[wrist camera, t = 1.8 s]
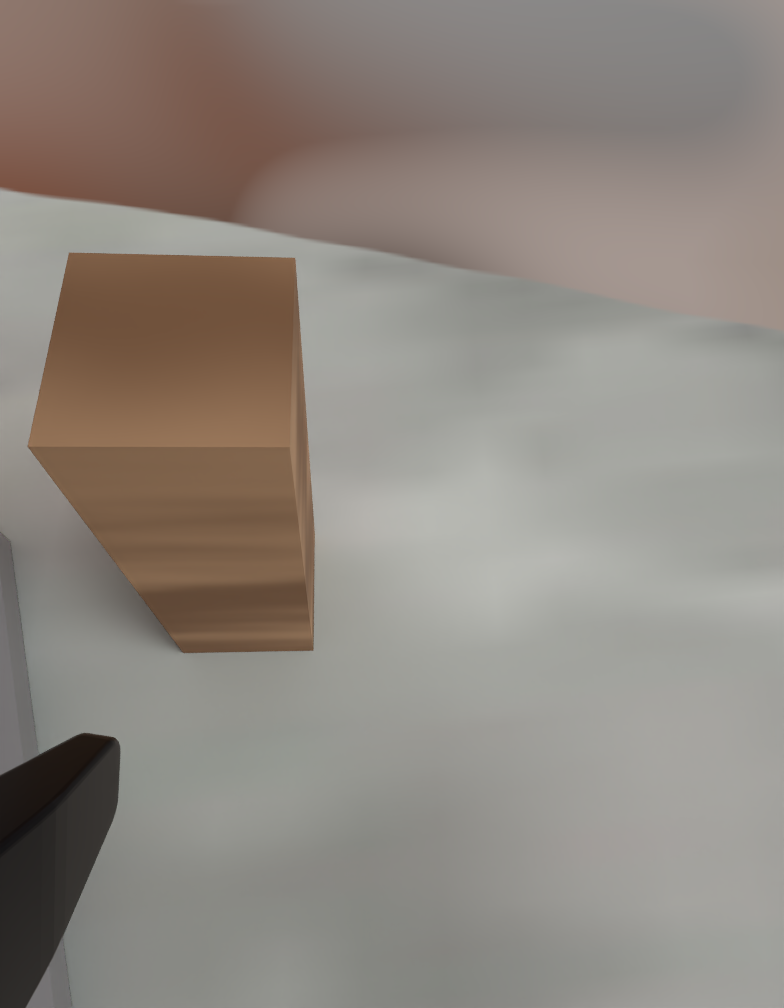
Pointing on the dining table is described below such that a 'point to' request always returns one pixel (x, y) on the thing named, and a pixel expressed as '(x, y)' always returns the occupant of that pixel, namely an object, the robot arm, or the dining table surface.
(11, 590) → the slate board
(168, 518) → the wooden pillar
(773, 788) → the dining table surface
